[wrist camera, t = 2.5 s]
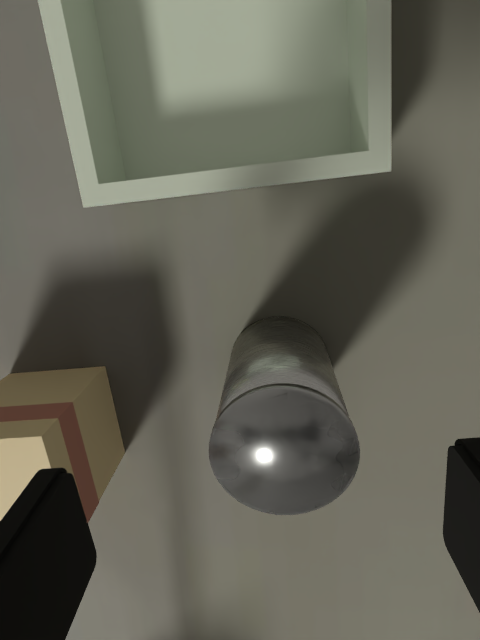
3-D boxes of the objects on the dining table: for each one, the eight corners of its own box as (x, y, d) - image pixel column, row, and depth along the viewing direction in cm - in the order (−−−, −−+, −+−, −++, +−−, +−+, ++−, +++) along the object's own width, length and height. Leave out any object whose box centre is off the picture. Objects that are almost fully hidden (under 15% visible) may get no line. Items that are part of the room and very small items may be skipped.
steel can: (326, 311, 18) (358, 382, 12) (330, 403, 20) (361, 512, 13) (224, 319, 19) (199, 392, 12) (235, 408, 20) (218, 517, 14)
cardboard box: (105, 365, 20) (41, 435, 14) (125, 452, 22) (75, 546, 16) (9, 373, 21) (-89, 443, 15) (36, 457, 22) (-45, 550, 16)
